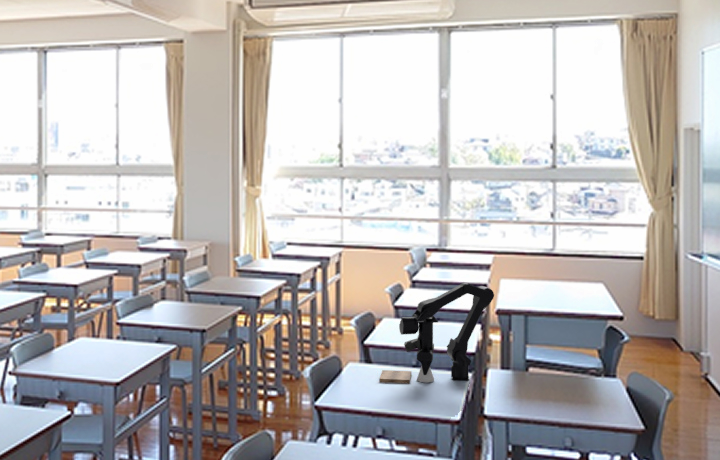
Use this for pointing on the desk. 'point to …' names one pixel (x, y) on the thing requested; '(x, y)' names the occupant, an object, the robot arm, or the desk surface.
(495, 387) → the desk surface
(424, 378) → the flask
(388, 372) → the flat brown panel
